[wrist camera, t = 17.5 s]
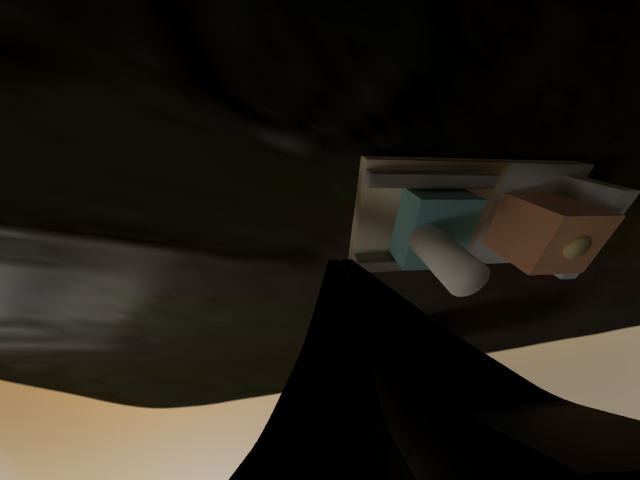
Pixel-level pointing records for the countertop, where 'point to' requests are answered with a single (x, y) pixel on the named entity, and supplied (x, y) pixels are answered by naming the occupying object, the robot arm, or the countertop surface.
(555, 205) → the box
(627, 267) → the countertop surface
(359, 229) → the frame
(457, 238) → the ram
